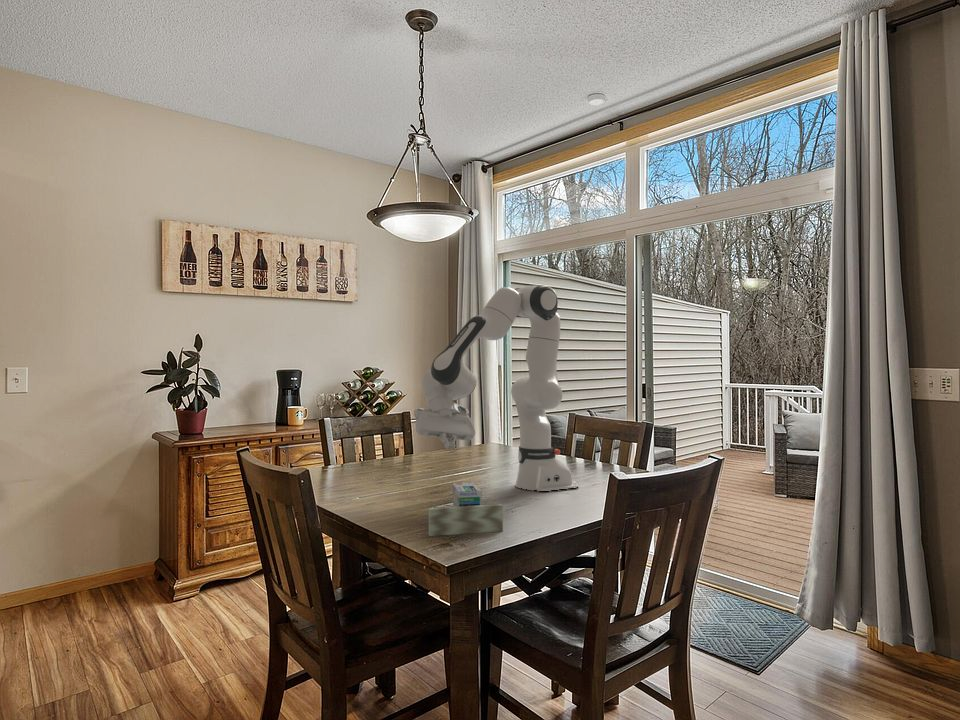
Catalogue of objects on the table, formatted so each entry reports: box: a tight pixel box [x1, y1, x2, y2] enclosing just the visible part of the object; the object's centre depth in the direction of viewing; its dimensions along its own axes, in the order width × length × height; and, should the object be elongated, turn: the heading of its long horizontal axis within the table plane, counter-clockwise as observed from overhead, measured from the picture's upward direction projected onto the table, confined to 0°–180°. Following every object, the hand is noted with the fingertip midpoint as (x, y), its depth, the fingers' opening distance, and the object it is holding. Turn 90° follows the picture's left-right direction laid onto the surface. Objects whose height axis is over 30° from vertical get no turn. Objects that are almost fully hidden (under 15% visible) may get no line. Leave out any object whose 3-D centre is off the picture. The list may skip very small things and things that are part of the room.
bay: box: [428, 503, 504, 537], centre depth 162 cm, size 20×14×7 cm
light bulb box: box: [452, 482, 483, 507], centre depth 163 cm, size 11×7×11 cm, turn 12°
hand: (450, 447), depth 179 cm, fingers closed
